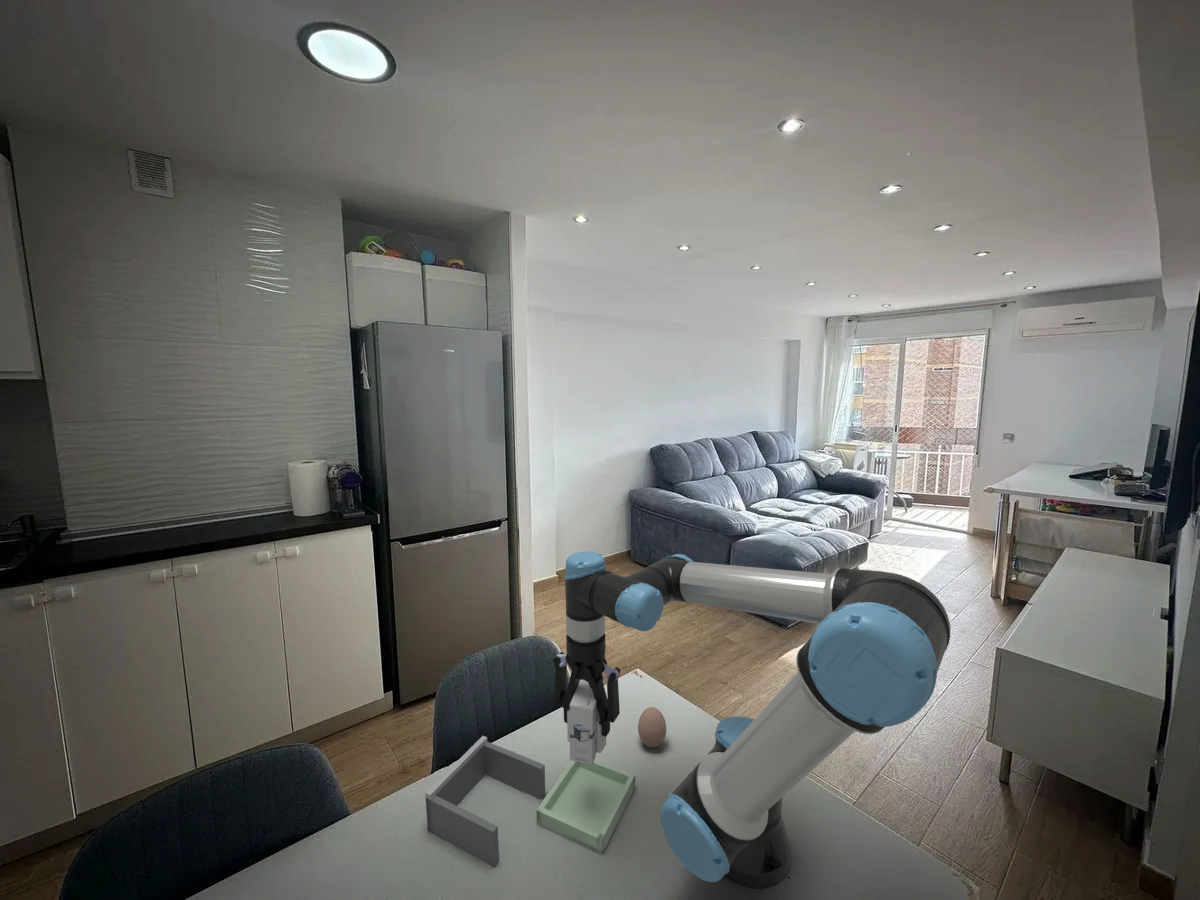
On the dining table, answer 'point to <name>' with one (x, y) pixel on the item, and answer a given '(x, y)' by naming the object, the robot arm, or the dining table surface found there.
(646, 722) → the egg
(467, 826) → the dock
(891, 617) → the robot arm
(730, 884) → the dining table surface
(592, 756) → the ink box
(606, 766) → the tray
